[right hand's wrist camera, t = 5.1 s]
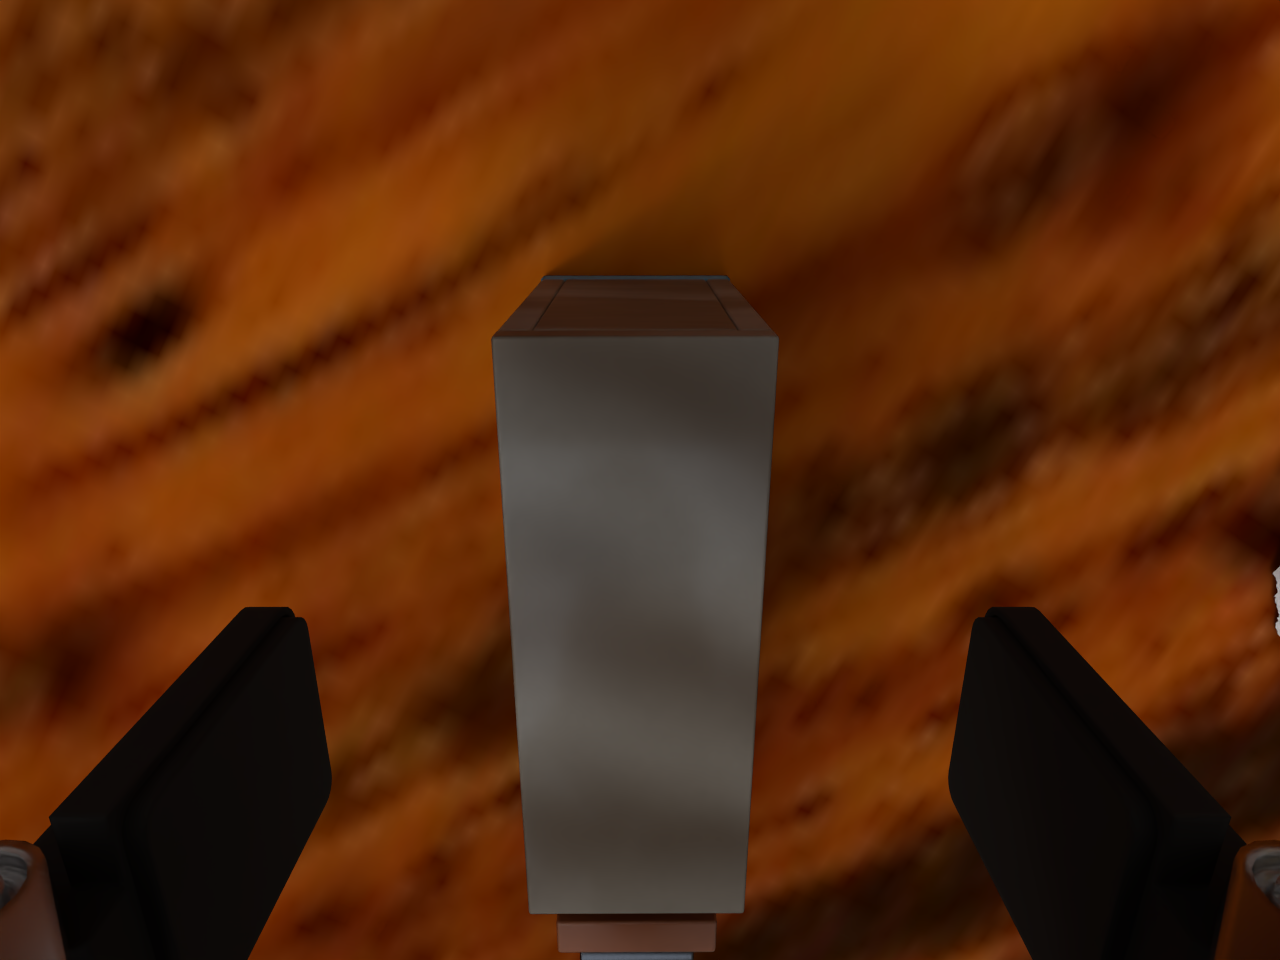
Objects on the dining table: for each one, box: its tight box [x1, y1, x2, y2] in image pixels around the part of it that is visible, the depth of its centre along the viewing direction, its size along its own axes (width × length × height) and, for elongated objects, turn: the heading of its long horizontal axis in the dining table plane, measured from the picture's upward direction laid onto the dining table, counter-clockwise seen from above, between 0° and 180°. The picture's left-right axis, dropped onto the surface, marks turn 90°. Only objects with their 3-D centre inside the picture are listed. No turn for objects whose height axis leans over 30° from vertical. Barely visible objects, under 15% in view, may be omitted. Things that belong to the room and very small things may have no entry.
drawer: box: [557, 913, 717, 960], centre depth 25 cm, size 20×4×8 cm, turn 0°
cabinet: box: [491, 276, 779, 914], centre depth 23 cm, size 16×6×10 cm, turn 0°
